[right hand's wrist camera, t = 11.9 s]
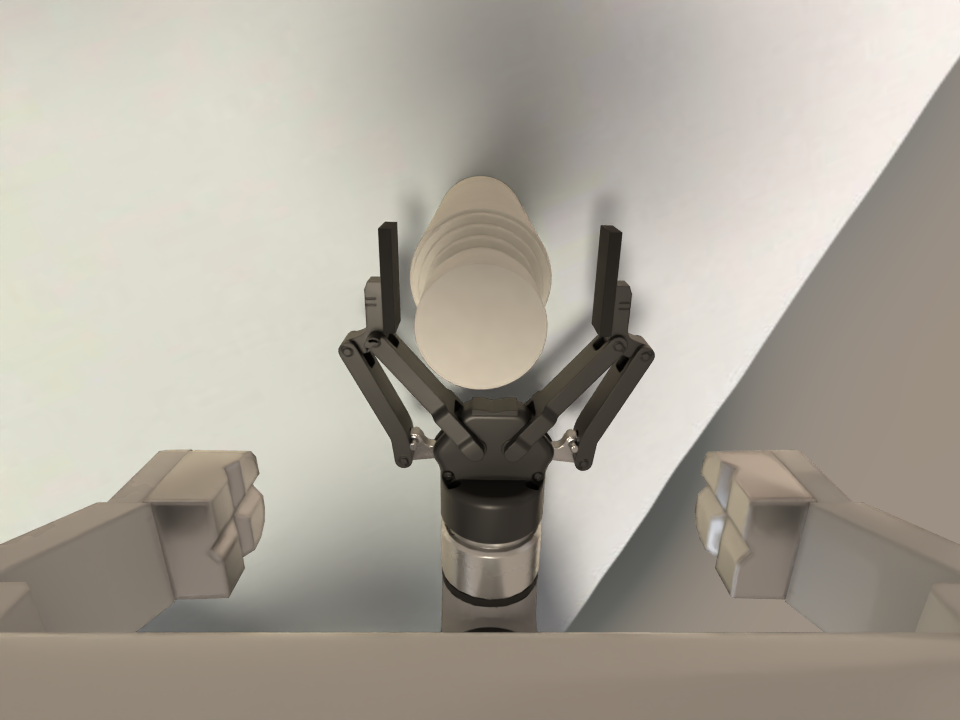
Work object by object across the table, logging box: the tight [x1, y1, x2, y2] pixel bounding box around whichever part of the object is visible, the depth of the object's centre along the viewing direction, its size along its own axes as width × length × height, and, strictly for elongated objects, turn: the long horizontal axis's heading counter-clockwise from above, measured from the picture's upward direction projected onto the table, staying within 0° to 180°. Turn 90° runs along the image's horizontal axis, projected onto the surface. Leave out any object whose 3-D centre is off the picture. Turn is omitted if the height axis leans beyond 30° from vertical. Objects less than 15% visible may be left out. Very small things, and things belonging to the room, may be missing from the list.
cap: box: [414, 249, 547, 389], centre depth 20 cm, size 4×4×2 cm
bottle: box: [410, 176, 551, 307], centre depth 30 cm, size 6×6×24 cm
